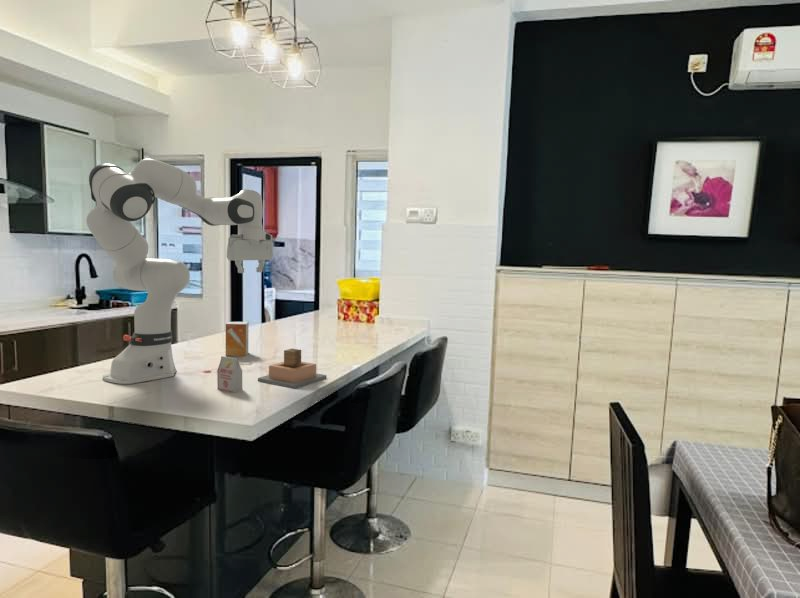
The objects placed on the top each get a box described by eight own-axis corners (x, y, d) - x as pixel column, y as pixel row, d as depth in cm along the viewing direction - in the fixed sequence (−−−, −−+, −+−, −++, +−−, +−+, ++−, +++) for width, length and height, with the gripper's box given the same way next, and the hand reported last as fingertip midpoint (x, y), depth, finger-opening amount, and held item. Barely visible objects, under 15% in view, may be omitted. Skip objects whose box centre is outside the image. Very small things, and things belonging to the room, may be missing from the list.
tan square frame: (295, 388, 164) (296, 372, 163) (257, 381, 171) (257, 366, 171) (326, 378, 178) (326, 363, 177) (290, 371, 186) (290, 357, 185)
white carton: (226, 386, 164) (226, 355, 163) (242, 389, 161) (242, 358, 160) (217, 389, 161) (217, 357, 160) (233, 392, 158) (232, 360, 157)
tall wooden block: (293, 378, 172) (293, 351, 171) (283, 377, 174) (284, 350, 173) (301, 376, 175) (301, 349, 174) (291, 374, 177) (292, 348, 176)
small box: (225, 356, 208) (225, 323, 206) (228, 352, 214) (228, 321, 213) (246, 356, 209) (246, 323, 207) (248, 352, 215) (248, 321, 214)
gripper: (235, 234, 182) (235, 274, 183) (275, 236, 200) (275, 272, 201) (222, 234, 185) (222, 273, 186) (263, 235, 203) (263, 271, 204)
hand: (250, 272), depth 194 cm, fingers open, 8 cm apart
